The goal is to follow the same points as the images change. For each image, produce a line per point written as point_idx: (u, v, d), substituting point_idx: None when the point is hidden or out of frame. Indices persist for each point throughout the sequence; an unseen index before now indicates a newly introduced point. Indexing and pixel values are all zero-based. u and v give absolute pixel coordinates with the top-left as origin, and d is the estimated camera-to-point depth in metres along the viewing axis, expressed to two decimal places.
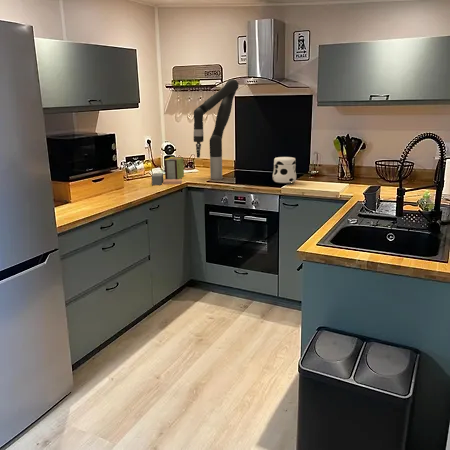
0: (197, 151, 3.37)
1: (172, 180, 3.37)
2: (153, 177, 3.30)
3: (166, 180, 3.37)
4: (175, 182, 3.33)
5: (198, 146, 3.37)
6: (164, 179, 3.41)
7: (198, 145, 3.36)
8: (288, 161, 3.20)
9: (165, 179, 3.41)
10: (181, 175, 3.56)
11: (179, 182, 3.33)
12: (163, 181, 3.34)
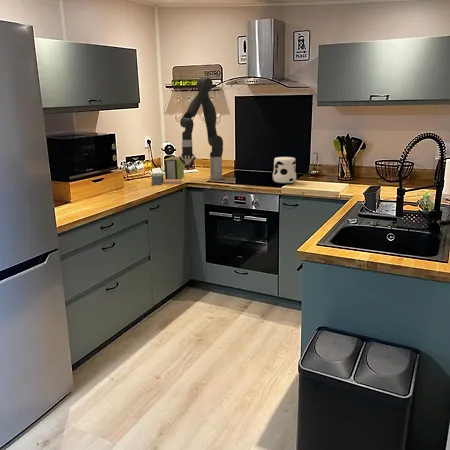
0: (191, 162, 3.33)
1: (172, 180, 3.37)
2: (153, 177, 3.30)
3: (166, 180, 3.37)
4: (175, 182, 3.33)
5: (194, 159, 3.33)
6: (165, 179, 3.41)
7: (195, 158, 3.33)
8: (288, 161, 3.20)
9: (165, 179, 3.41)
10: (181, 175, 3.56)
11: (179, 182, 3.33)
12: (163, 181, 3.34)
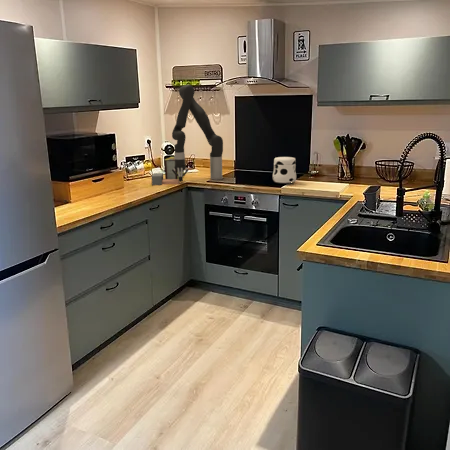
0: (184, 174, 3.35)
1: (170, 180, 3.37)
2: (153, 177, 3.30)
3: (164, 180, 3.37)
4: (172, 182, 3.33)
5: (187, 171, 3.35)
6: None
7: None
8: (288, 161, 3.20)
9: (163, 179, 3.41)
10: None
11: (176, 182, 3.33)
12: None
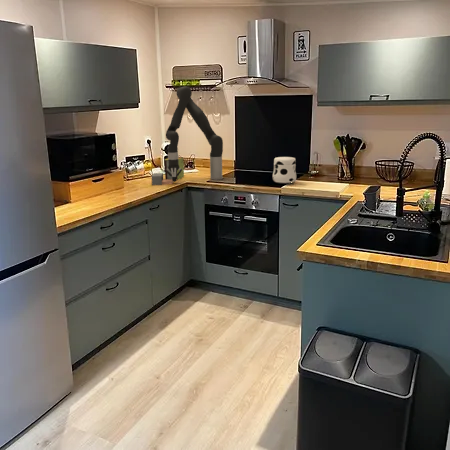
0: None
1: (163, 180, 3.37)
2: (153, 177, 3.30)
3: None
4: (166, 182, 3.33)
5: None
6: None
7: (181, 170, 3.35)
8: (288, 161, 3.20)
9: None
10: (181, 175, 3.56)
11: (170, 182, 3.34)
12: None
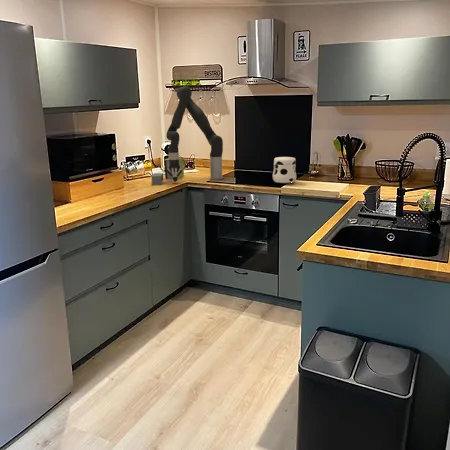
0: None
1: (163, 180, 3.37)
2: (153, 177, 3.30)
3: None
4: (166, 182, 3.33)
5: (181, 171, 3.36)
6: None
7: (182, 170, 3.35)
8: (288, 161, 3.20)
9: None
10: (181, 175, 3.56)
11: (170, 182, 3.33)
12: None
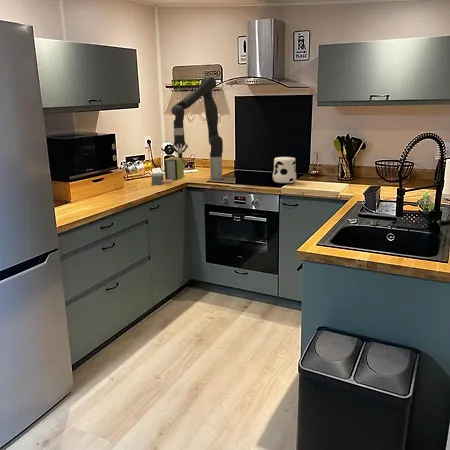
0: None
1: (163, 180, 3.37)
2: (153, 177, 3.30)
3: None
4: (166, 182, 3.33)
5: None
6: None
7: (187, 146, 3.30)
8: (288, 161, 3.20)
9: None
10: (181, 175, 3.56)
11: (170, 182, 3.33)
12: None
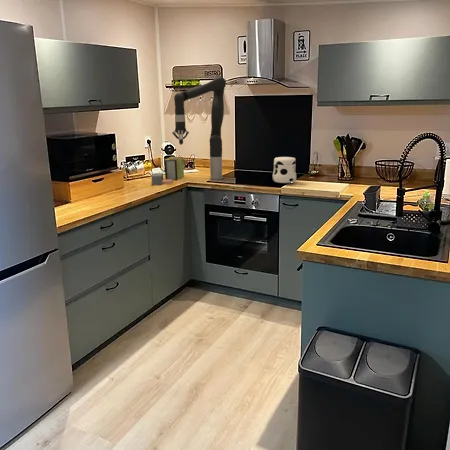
0: (185, 137, 3.39)
1: (163, 180, 3.37)
2: (153, 177, 3.30)
3: None
4: (166, 182, 3.34)
5: (187, 134, 3.39)
6: None
7: None
8: (288, 161, 3.20)
9: None
10: (181, 175, 3.56)
11: (170, 182, 3.33)
12: None
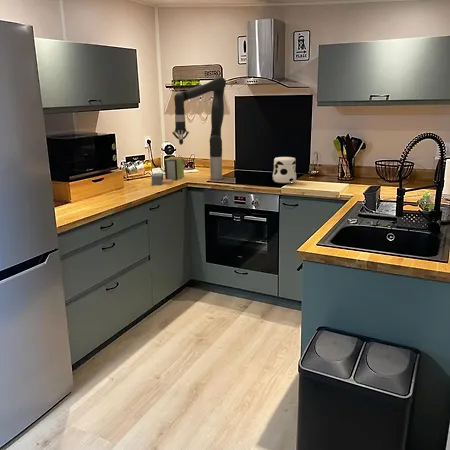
0: (185, 137, 3.39)
1: (163, 180, 3.37)
2: (153, 177, 3.30)
3: None
4: (166, 182, 3.34)
5: (187, 134, 3.39)
6: None
7: None
8: (288, 161, 3.20)
9: None
10: (181, 175, 3.56)
11: (170, 182, 3.33)
12: None
